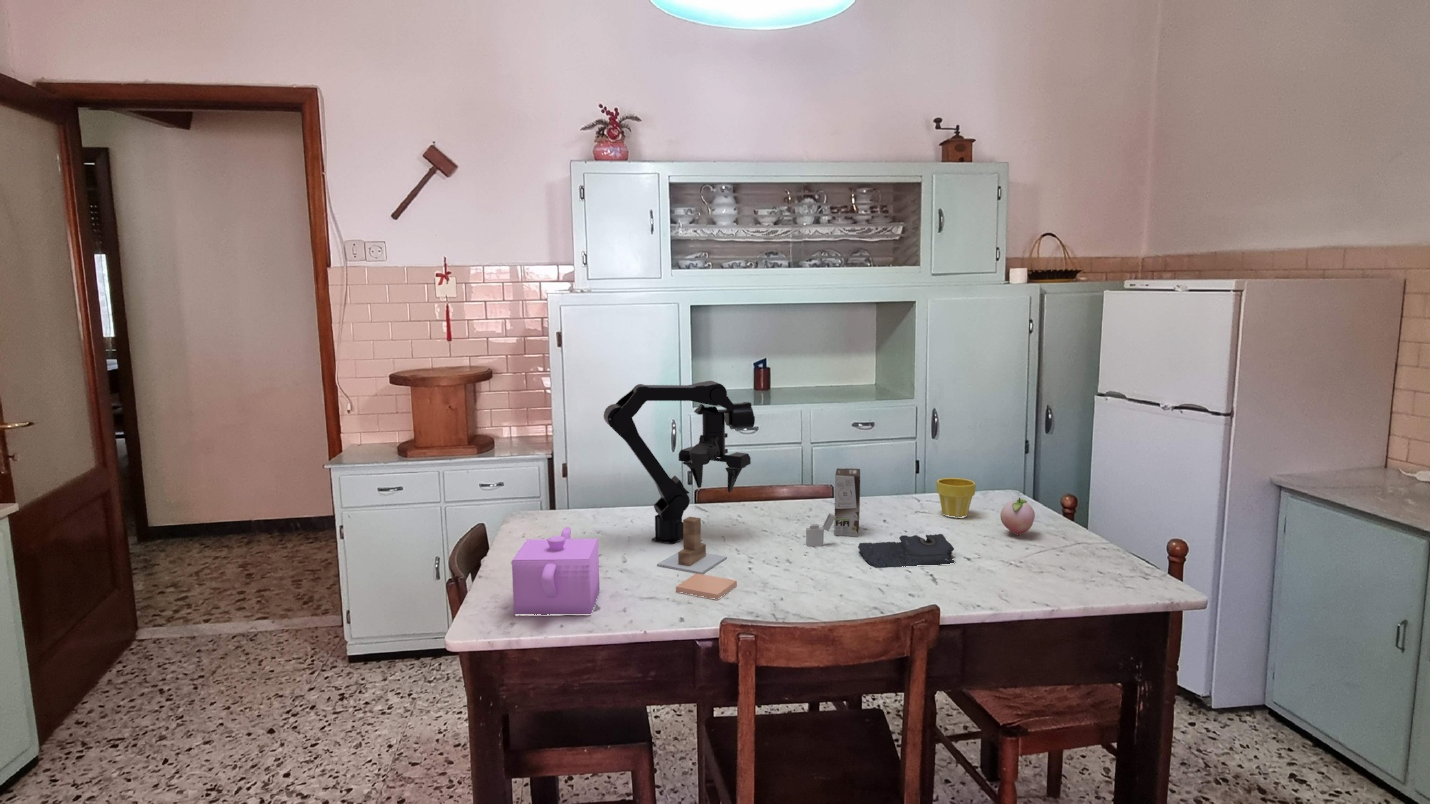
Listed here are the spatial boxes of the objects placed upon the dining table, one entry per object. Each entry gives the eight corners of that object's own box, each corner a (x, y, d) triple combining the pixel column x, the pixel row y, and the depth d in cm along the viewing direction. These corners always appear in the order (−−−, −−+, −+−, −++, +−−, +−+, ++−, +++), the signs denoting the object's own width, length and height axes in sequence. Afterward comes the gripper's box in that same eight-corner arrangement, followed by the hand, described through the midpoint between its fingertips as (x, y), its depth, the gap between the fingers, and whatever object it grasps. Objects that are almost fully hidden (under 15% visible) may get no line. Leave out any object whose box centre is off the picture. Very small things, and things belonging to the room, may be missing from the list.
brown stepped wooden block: (678, 564, 186) (677, 522, 185) (694, 554, 193) (694, 513, 192) (689, 566, 185) (689, 524, 183) (705, 556, 192) (705, 515, 190)
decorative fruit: (1001, 528, 214) (1003, 491, 213) (1034, 532, 211) (1036, 495, 209) (997, 538, 206) (999, 500, 204) (1031, 542, 202) (1033, 503, 201)
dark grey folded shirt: (851, 549, 199) (852, 531, 198) (937, 545, 202) (937, 527, 201) (871, 571, 184) (871, 551, 183) (963, 566, 187) (963, 547, 186)
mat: (657, 565, 187) (657, 563, 187) (683, 550, 197) (683, 549, 197) (702, 574, 181) (702, 572, 181) (726, 558, 191) (726, 556, 191)
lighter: (807, 546, 200) (807, 515, 199) (805, 544, 202) (806, 513, 201) (835, 545, 201) (835, 514, 199) (833, 543, 202) (834, 512, 201)
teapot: (603, 579, 178) (602, 518, 176) (587, 626, 154) (585, 556, 152) (535, 580, 178) (533, 519, 176) (508, 627, 154) (505, 557, 152)
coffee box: (858, 537, 207) (860, 476, 205) (833, 535, 209) (834, 475, 206) (859, 526, 216) (860, 468, 214) (835, 525, 217) (836, 467, 215)
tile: (696, 580, 179) (675, 594, 171) (696, 573, 178) (675, 586, 170) (736, 588, 174) (717, 602, 166) (736, 580, 174) (717, 594, 166)
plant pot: (948, 508, 234) (949, 475, 232) (981, 515, 226) (982, 481, 225) (928, 515, 227) (929, 481, 225) (961, 523, 219) (962, 488, 218)
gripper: (665, 432, 204) (667, 492, 206) (729, 439, 194) (729, 501, 196) (689, 425, 213) (690, 483, 215) (751, 431, 203) (751, 491, 206)
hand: (714, 489), depth 208 cm, fingers open, 9 cm apart
